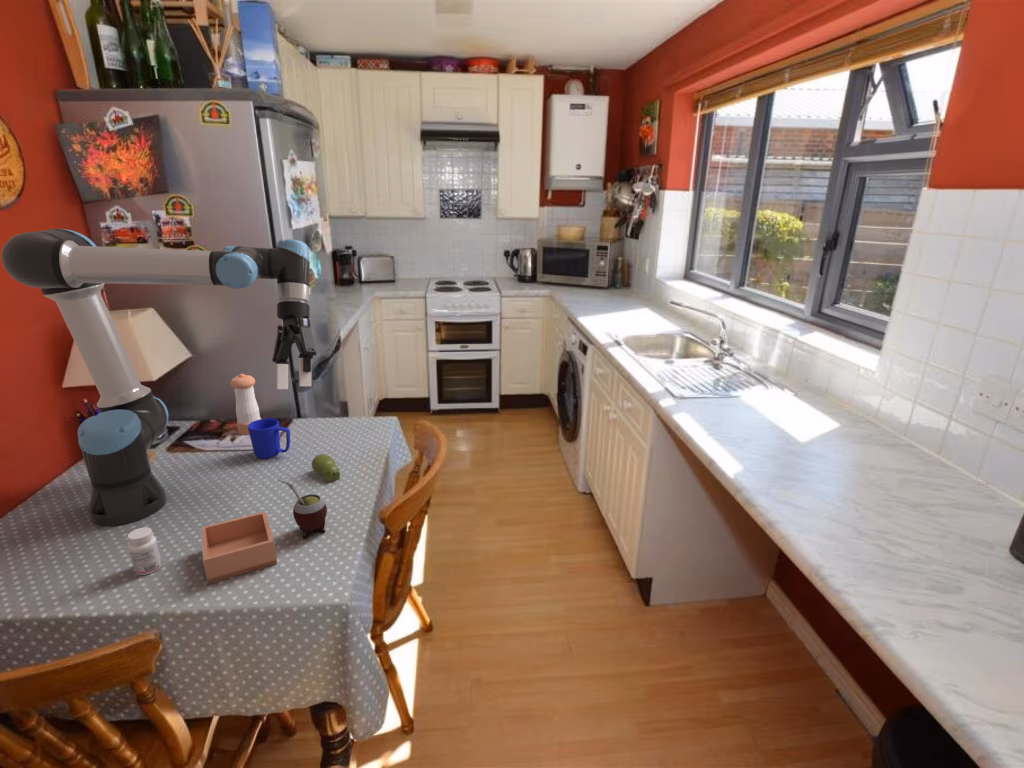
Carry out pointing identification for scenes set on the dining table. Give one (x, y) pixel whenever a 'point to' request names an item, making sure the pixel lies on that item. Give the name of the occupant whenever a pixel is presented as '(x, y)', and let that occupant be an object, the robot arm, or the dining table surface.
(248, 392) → the pepper shaker
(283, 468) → the dining table surface
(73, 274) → the robot arm
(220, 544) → the box
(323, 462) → the pear
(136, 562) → the pill bottle
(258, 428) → the mug
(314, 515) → the mate gourd
